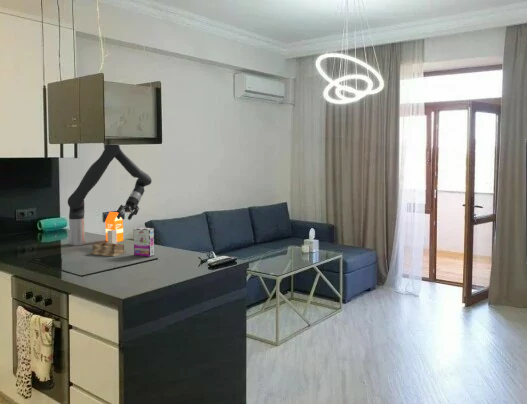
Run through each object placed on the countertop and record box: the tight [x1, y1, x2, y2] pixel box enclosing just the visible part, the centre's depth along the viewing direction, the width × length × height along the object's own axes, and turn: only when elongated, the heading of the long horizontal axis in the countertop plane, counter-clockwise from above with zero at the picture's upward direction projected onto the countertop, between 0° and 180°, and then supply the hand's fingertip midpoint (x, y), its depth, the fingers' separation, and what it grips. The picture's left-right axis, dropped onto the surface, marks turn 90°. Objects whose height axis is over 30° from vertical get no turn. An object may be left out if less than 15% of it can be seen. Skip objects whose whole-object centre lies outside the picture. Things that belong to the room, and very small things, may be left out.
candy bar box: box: [133, 227, 155, 258], centre depth 286 cm, size 11×5×16 cm, turn 71°
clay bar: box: [107, 230, 118, 244], centre depth 303 cm, size 4×4×12 cm
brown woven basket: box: [90, 242, 127, 257], centre depth 291 cm, size 17×11×5 cm, turn 68°
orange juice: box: [105, 211, 124, 243], centre depth 330 cm, size 8×9×20 cm
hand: (123, 218), depth 312 cm, fingers open, 8 cm apart
